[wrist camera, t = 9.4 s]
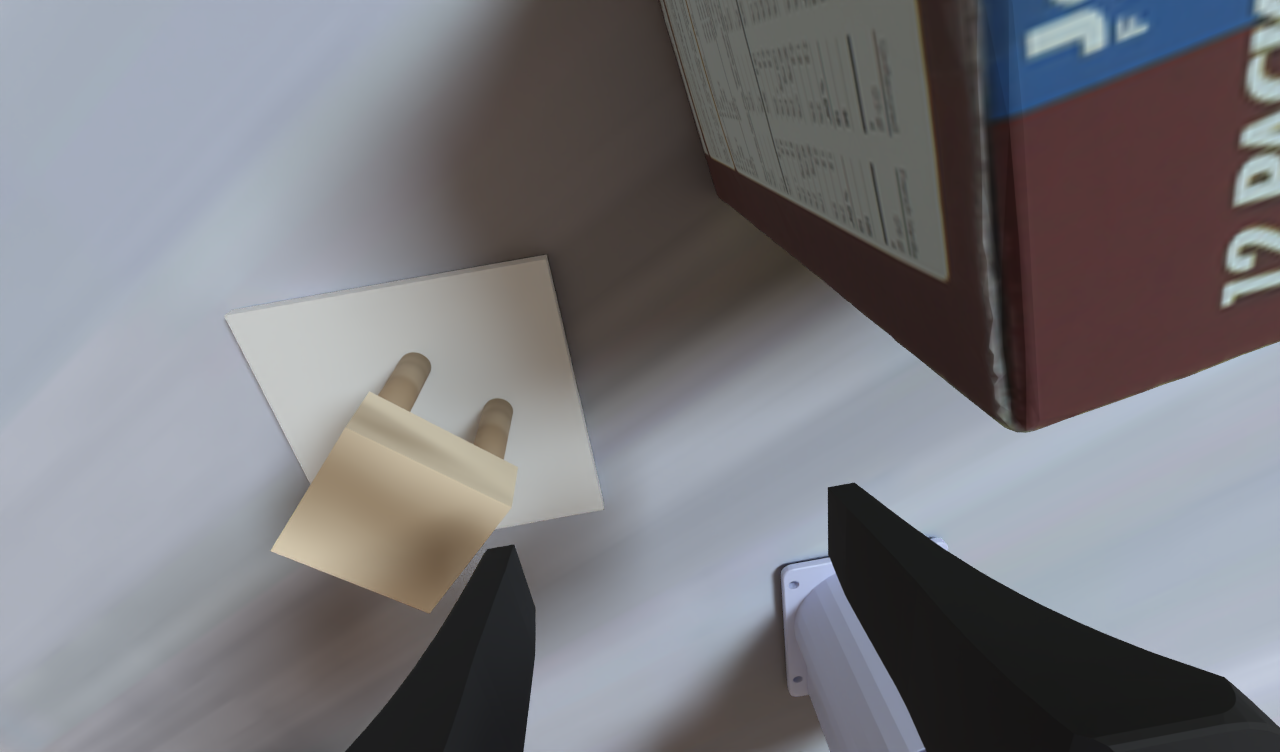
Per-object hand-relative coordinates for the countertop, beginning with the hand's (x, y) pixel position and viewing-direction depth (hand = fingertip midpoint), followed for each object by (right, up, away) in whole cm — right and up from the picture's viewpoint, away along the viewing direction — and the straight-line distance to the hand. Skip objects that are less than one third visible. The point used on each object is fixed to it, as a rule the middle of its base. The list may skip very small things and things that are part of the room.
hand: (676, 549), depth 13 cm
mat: (-9, +2, +10) cm, 13 cm away
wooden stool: (-9, +2, +9) cm, 13 cm away
